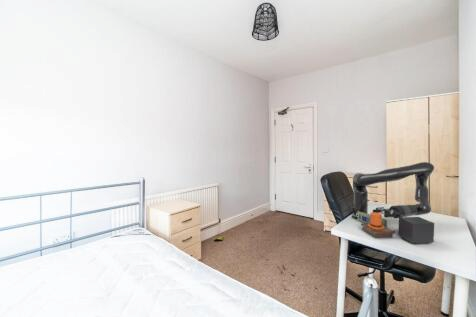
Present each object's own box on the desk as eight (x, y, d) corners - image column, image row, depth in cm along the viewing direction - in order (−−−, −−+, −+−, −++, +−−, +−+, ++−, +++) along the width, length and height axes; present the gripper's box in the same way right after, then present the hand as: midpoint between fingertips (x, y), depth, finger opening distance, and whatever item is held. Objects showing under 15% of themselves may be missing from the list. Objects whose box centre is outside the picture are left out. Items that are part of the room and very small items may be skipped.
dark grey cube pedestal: (397, 236, 129) (398, 217, 128) (417, 236, 129) (418, 216, 128) (412, 244, 118) (412, 223, 118) (433, 244, 118) (434, 223, 118)
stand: (360, 229, 141) (360, 223, 141) (378, 228, 141) (378, 222, 141) (374, 238, 127) (374, 232, 127) (394, 237, 127) (394, 231, 127)
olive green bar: (384, 230, 138) (350, 218, 161) (387, 229, 139) (353, 217, 162) (384, 220, 138) (350, 209, 161) (387, 219, 139) (353, 209, 162)
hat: (364, 224, 139) (364, 211, 139) (378, 223, 139) (378, 211, 139) (373, 229, 130) (373, 216, 130) (388, 229, 130) (388, 216, 130)
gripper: (410, 220, 131) (388, 223, 128) (389, 213, 145) (369, 215, 142) (411, 208, 131) (388, 211, 128) (390, 202, 145) (369, 204, 141)
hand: (378, 213), depth 135 cm, fingers open, 8 cm apart
